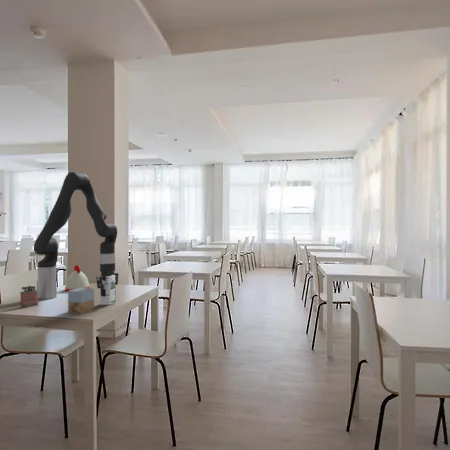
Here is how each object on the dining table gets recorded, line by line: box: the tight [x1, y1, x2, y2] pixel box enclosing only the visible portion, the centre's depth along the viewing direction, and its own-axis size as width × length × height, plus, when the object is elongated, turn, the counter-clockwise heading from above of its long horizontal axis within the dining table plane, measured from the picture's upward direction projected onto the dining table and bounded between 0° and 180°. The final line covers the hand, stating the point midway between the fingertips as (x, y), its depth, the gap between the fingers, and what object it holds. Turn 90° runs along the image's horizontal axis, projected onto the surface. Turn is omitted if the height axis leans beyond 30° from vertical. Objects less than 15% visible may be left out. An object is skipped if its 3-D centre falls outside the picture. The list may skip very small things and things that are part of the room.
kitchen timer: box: [64, 264, 90, 292], centre depth 227 cm, size 14×14×15 cm
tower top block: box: [67, 287, 95, 303], centre depth 172 cm, size 8×8×5 cm
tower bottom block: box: [67, 298, 95, 314], centre depth 172 cm, size 8×8×5 cm
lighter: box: [19, 285, 39, 308], centre depth 183 cm, size 8×3×10 cm, turn 134°
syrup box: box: [99, 275, 117, 306], centre depth 187 cm, size 6×6×14 cm
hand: (107, 294), depth 187 cm, fingers closed on syrup box, 6 cm apart
